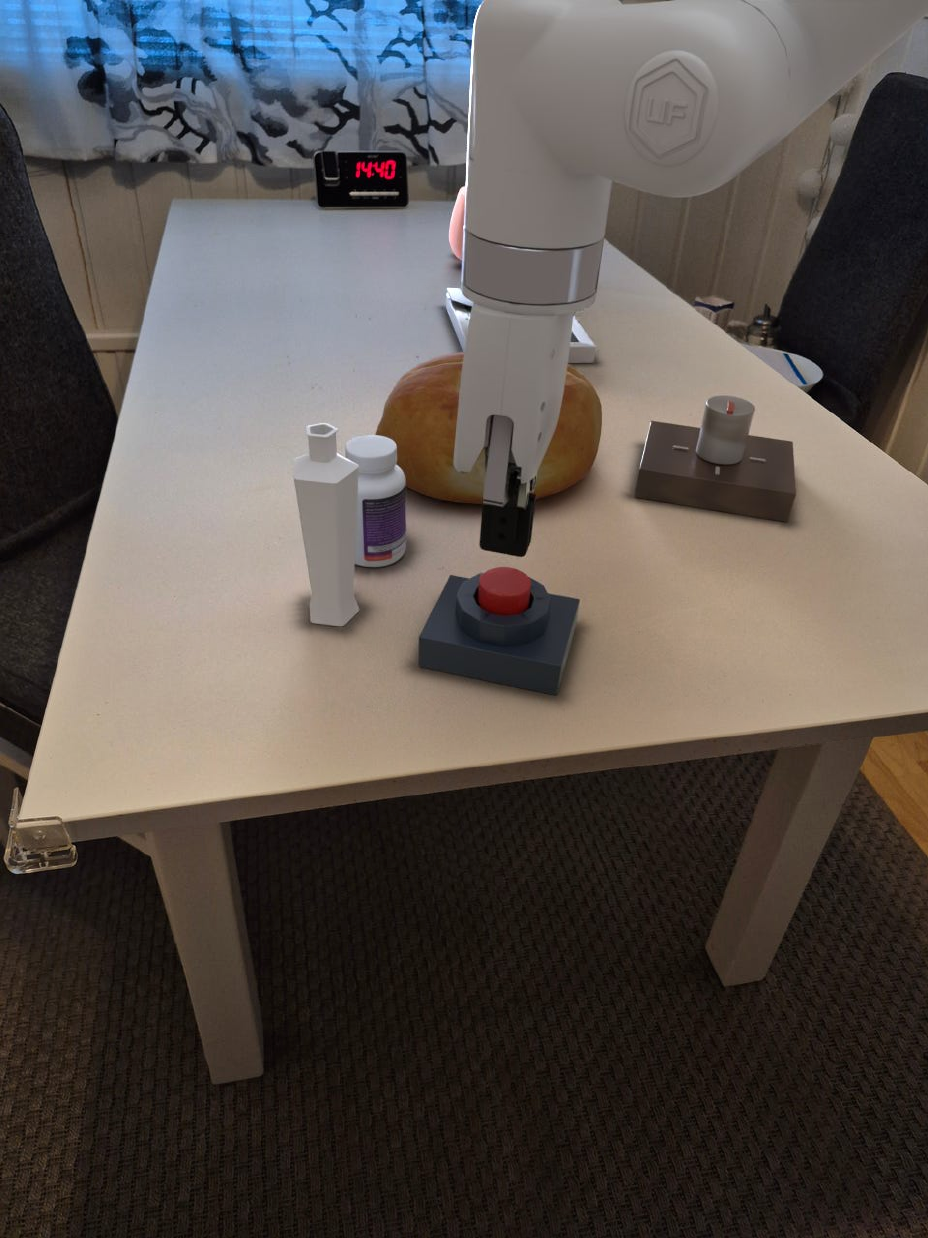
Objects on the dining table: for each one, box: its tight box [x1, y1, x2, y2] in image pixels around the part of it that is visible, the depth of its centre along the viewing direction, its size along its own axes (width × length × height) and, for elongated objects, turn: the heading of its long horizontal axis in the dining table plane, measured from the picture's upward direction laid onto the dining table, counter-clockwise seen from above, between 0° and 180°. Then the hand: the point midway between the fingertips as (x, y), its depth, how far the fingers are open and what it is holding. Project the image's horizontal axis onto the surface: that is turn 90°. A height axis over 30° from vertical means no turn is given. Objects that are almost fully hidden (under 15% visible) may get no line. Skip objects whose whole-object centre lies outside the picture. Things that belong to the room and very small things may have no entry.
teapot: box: [448, 185, 466, 261], centre depth 139 cm, size 20×12×12 cm, turn 6°
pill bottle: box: [344, 434, 407, 568], centre depth 71 cm, size 5×5×10 cm
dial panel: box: [633, 420, 797, 523], centre depth 85 cm, size 14×11×3 cm
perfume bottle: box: [292, 422, 360, 627], centre depth 62 cm, size 5×4×15 cm
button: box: [478, 566, 531, 616], centre depth 61 cm, size 4×4×2 cm
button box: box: [418, 572, 581, 696], centre depth 63 cm, size 10×8×4 cm
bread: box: [374, 351, 603, 505], centre depth 84 cm, size 23×23×10 cm
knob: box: [696, 395, 756, 465], centre depth 82 cm, size 4×4×5 cm
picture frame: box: [445, 287, 597, 364], centre depth 115 cm, size 16×3×21 cm
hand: (504, 546), depth 59 cm, fingers closed
